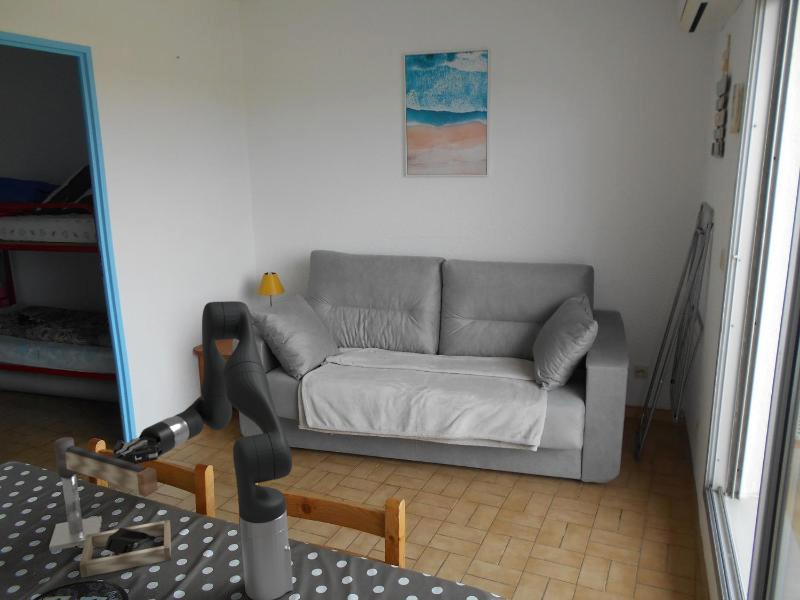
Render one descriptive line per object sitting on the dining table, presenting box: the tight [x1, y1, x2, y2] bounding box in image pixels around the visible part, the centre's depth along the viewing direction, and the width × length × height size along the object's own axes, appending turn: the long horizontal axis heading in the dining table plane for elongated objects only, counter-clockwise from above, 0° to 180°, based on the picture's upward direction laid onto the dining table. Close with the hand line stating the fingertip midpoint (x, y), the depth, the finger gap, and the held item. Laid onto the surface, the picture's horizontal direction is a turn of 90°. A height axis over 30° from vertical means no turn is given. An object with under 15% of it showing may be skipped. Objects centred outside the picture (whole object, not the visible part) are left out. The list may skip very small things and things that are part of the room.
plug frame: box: [79, 519, 172, 578], centre depth 146 cm, size 18×12×3 cm, turn 109°
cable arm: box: [53, 436, 159, 497], centre depth 144 cm, size 30×4×8 cm, turn 62°
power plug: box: [104, 527, 156, 556], centre depth 146 cm, size 6×8×12 cm
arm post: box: [48, 473, 103, 552], centre depth 152 cm, size 10×10×16 cm
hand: (106, 465), depth 145 cm, fingers closed
